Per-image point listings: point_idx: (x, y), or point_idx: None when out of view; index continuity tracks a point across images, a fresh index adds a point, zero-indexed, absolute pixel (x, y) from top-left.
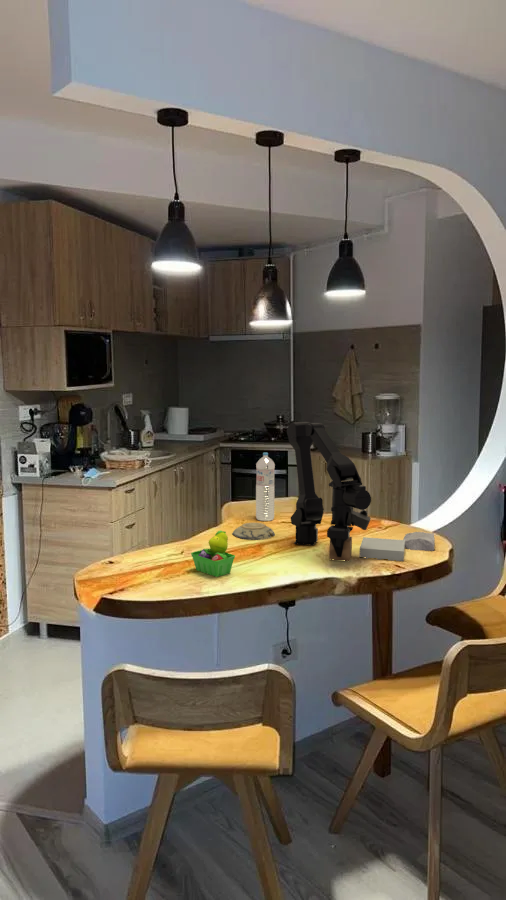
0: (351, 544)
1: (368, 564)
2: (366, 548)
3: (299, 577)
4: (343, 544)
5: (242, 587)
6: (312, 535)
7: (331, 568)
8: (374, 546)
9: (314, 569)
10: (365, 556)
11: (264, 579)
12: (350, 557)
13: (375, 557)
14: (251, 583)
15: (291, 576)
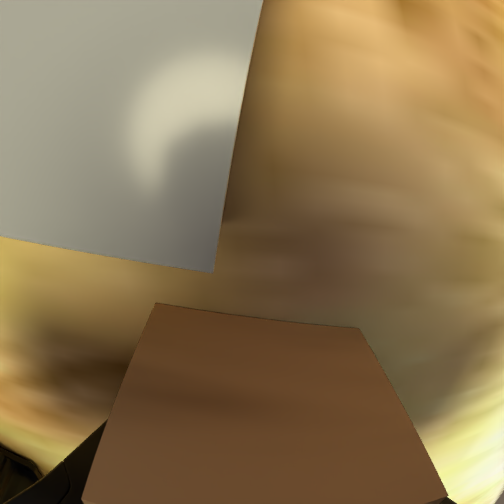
0: (175, 417)
1: (448, 153)
2: (213, 139)
3: (496, 456)
4: (450, 500)
5: (487, 498)
6: (2, 493)
7: (464, 407)
8: (72, 5)
9: (447, 455)
10: (233, 151)
11: (466, 499)
12: (271, 328)
13: (257, 28)
14: (476, 500)
15: (478, 473)
